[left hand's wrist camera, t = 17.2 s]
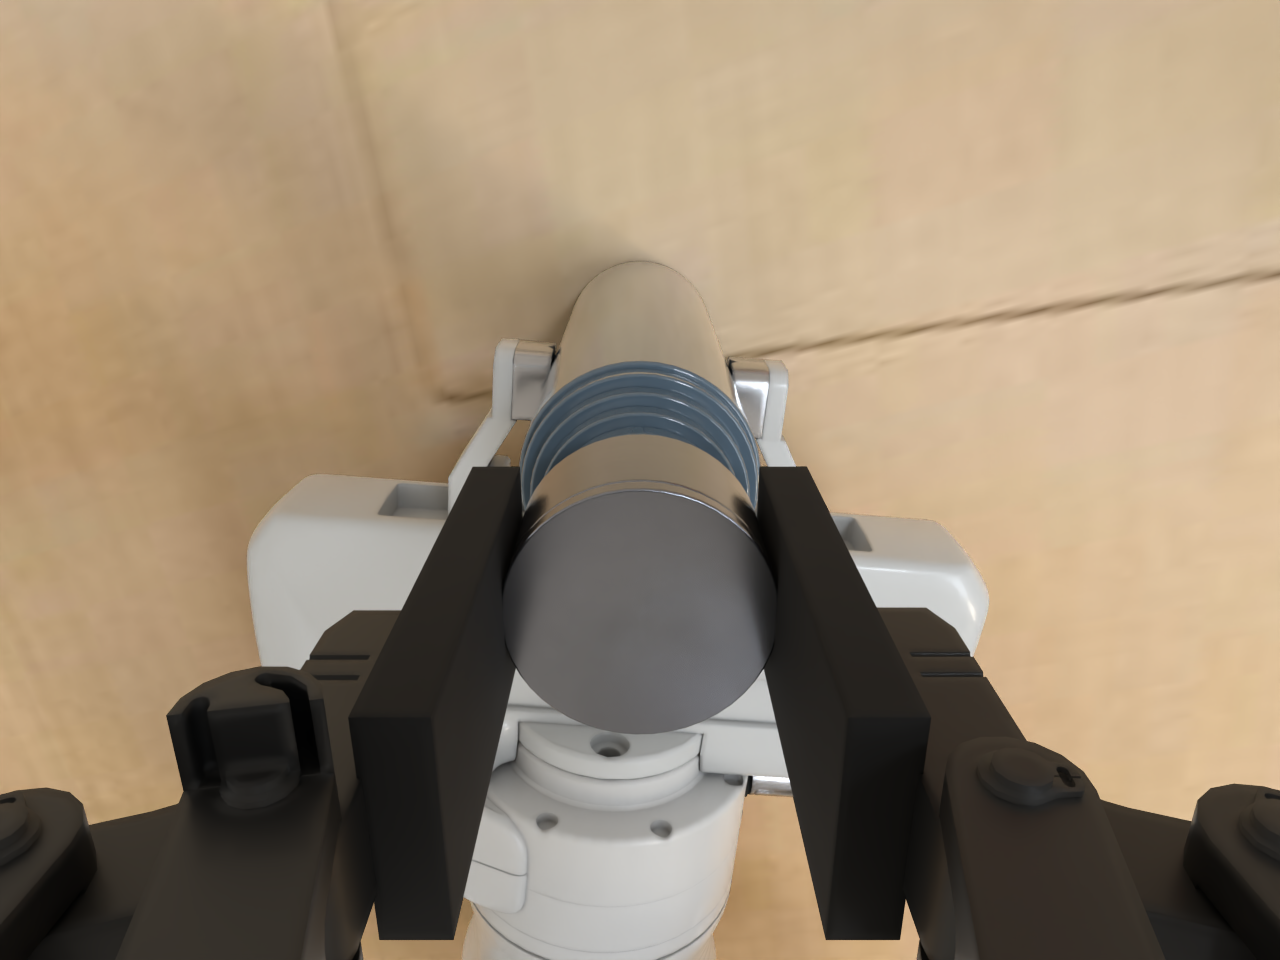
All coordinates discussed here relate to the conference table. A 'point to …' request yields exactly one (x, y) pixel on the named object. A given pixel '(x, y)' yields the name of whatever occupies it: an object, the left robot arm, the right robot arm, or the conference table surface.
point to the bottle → (639, 377)
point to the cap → (639, 587)
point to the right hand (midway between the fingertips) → (641, 353)
